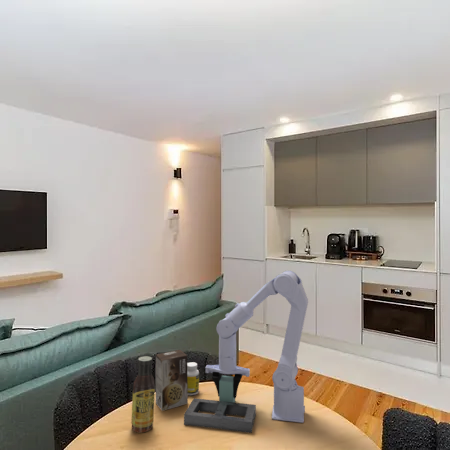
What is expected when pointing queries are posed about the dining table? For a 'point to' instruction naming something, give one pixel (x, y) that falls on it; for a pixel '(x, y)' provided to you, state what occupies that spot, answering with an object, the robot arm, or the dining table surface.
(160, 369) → the coffee box
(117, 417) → the dining table surface
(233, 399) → the peg
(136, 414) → the sauce bottle
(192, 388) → the supplement bottle
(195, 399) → the grey peg holder tray
